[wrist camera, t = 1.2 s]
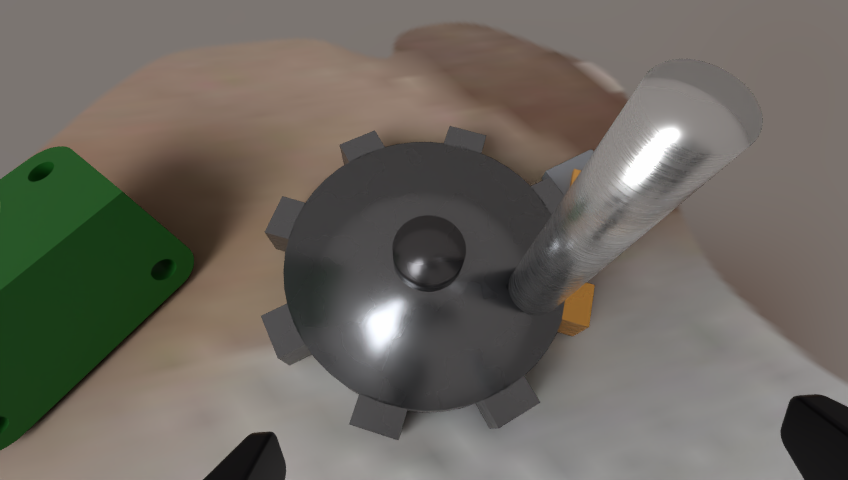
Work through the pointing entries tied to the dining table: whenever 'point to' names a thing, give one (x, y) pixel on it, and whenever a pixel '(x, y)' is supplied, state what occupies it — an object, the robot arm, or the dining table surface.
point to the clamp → (71, 279)
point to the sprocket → (483, 249)
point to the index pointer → (567, 171)
